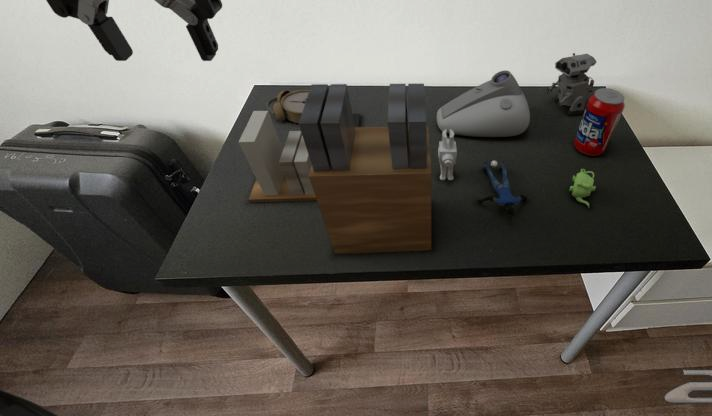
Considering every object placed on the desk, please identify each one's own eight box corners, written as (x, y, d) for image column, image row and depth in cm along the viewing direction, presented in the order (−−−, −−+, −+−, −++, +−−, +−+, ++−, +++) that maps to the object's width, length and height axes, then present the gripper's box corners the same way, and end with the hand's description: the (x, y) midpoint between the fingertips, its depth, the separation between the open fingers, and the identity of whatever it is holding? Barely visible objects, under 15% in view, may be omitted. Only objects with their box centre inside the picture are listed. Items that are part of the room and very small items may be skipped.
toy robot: (453, 164, 87) (456, 121, 78) (455, 186, 82) (458, 144, 73) (437, 164, 87) (438, 121, 78) (438, 187, 81) (439, 144, 73)
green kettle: (588, 208, 79) (597, 189, 74) (564, 200, 80) (571, 181, 76) (593, 190, 83) (601, 171, 78) (569, 183, 84) (576, 164, 80)
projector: (472, 92, 109) (477, 43, 98) (542, 120, 100) (555, 70, 89) (426, 127, 96) (425, 75, 85) (501, 162, 88) (511, 109, 77)
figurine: (537, 101, 107) (549, 50, 96) (573, 97, 109) (589, 47, 98) (550, 119, 101) (565, 67, 90) (588, 114, 103) (606, 63, 92)
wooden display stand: (318, 200, 77) (306, 164, 70) (249, 202, 76) (230, 166, 69) (326, 163, 85) (316, 127, 78) (264, 164, 84) (248, 128, 77)
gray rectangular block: (278, 195, 77) (254, 141, 66) (264, 195, 76) (238, 141, 66) (288, 163, 83) (268, 110, 73) (275, 164, 83) (253, 110, 73)
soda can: (610, 154, 91) (635, 101, 80) (585, 161, 89) (606, 107, 78) (591, 136, 96) (612, 83, 85) (566, 142, 94) (584, 89, 83)
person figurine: (469, 176, 87) (483, 227, 73) (470, 159, 84) (484, 210, 70) (514, 173, 88) (536, 224, 74) (517, 157, 85) (540, 206, 71)
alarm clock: (323, 114, 93) (260, 106, 90) (324, 130, 97) (263, 123, 94) (329, 91, 101) (270, 83, 98) (329, 106, 104) (272, 99, 101)
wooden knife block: (431, 250, 70) (431, 125, 49) (335, 254, 68) (291, 128, 47) (428, 204, 78) (427, 79, 57) (342, 207, 76) (308, 80, 55)
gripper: (-102, -156, 24) (75, 75, 36) (129, -146, 25) (226, 75, 37) (-15, -163, 29) (116, 42, 41) (174, -155, 30) (247, 42, 42)
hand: (168, 57), depth 39 cm, fingers open, 8 cm apart
